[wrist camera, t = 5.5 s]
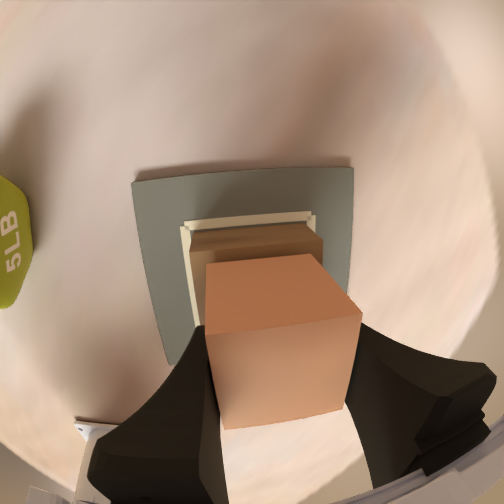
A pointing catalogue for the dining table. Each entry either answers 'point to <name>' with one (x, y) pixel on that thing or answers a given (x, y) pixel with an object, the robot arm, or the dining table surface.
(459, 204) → the dining table surface
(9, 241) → the dumbbell
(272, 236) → the base block
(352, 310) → the top block
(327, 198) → the grey square base plate
